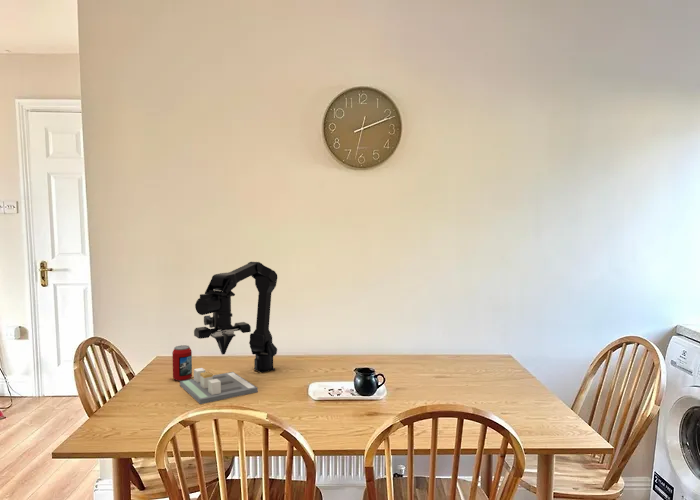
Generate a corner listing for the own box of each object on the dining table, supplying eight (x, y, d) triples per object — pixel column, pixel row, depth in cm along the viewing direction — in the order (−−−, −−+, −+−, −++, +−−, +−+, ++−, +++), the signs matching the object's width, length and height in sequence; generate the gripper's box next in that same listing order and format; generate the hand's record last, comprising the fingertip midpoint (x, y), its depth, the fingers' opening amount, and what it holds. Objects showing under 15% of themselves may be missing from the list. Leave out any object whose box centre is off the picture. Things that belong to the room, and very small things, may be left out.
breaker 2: (216, 390, 169) (216, 378, 169) (220, 393, 166) (220, 381, 166) (208, 391, 167) (208, 380, 167) (211, 394, 164) (211, 383, 164)
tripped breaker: (209, 384, 175) (209, 371, 175) (212, 387, 172) (212, 374, 172) (200, 385, 173) (200, 373, 173) (204, 388, 170) (203, 375, 170)
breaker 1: (202, 378, 181) (202, 367, 181) (205, 381, 178) (205, 370, 178) (193, 380, 179) (193, 369, 179) (197, 382, 176) (197, 371, 176)
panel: (233, 375, 190) (233, 371, 190) (257, 392, 172) (257, 387, 172) (179, 385, 178) (179, 381, 178) (200, 404, 160) (200, 399, 160)
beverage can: (186, 382, 182) (185, 349, 181) (169, 381, 183) (168, 348, 182) (195, 376, 188) (194, 345, 188) (179, 375, 190) (178, 344, 189)
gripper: (238, 304, 186) (239, 345, 187) (188, 309, 176) (189, 353, 177) (251, 308, 177) (251, 352, 178) (199, 314, 167) (199, 360, 168)
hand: (223, 354), depth 175 cm, fingers closed
